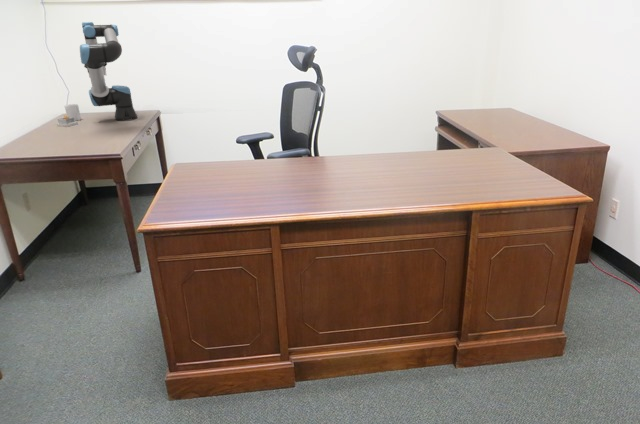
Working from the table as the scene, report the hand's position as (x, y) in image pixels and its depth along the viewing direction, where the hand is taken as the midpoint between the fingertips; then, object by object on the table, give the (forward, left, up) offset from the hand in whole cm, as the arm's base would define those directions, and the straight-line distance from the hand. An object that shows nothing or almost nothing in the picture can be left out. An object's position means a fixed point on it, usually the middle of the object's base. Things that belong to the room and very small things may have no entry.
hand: (98, 76), depth 337 cm
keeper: (+5, +33, -29) cm, 44 cm away
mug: (+14, +16, -29) cm, 36 cm away
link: (+5, +33, -27) cm, 43 cm away
